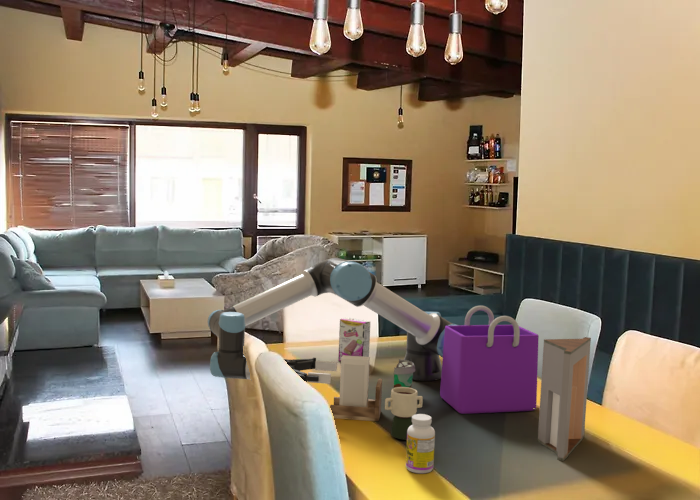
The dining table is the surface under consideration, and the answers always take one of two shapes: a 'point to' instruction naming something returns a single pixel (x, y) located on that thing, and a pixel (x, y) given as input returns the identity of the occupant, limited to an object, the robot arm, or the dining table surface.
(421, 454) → the supplement bottle
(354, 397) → the white rectangular box
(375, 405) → the wooden holder
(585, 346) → the grey tall angular block
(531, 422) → the dining table surface
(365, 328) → the candy bar box
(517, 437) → the dining table surface
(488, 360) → the shopping bag
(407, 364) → the food container
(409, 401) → the character mug
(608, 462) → the dining table surface
